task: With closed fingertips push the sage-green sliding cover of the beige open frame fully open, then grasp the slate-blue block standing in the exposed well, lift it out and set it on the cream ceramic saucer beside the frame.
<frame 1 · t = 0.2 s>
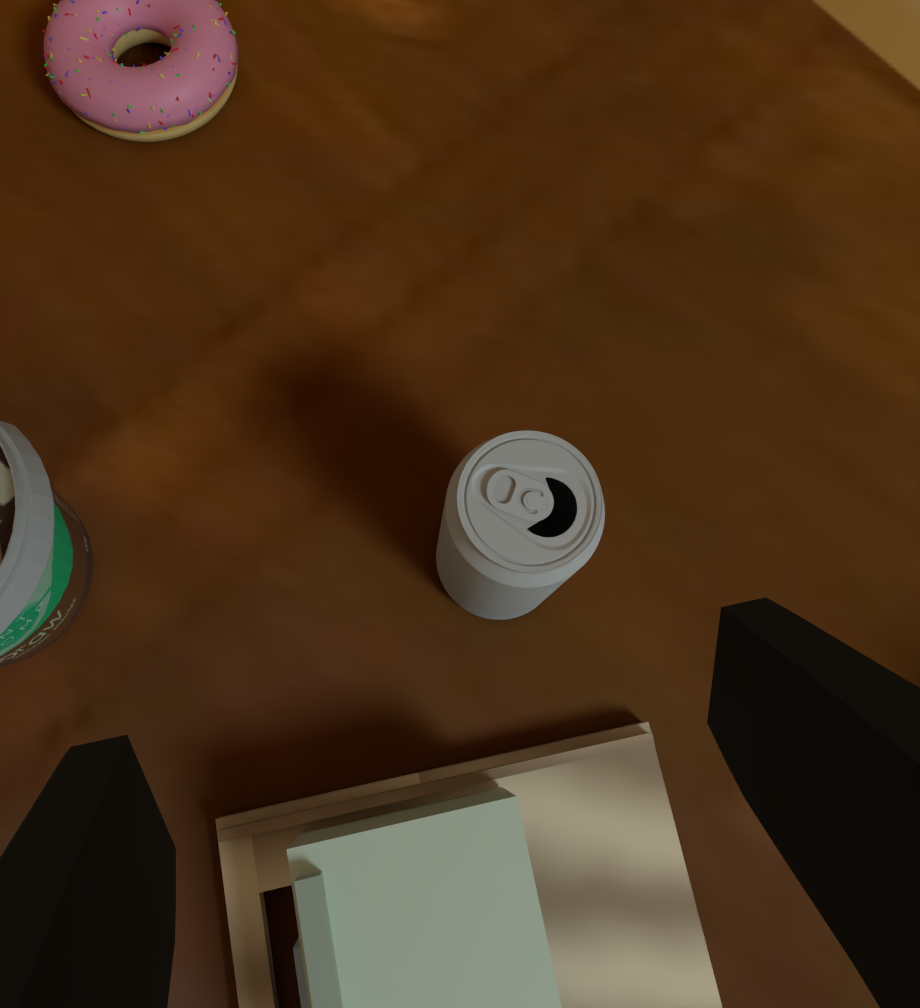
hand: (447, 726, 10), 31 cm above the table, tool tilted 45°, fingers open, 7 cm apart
beverage can: (495, 561, 42), on the table
beige open frame: (470, 933, 37), on the table
slate-blue block: (363, 960, 37), resting in beige open frame
doughnut: (154, 83, 49), on the table
food container: (38, 609, 40), on the table
sliding cover: (431, 971, 33), point 4 cm above the table, slide at 3.0 cm
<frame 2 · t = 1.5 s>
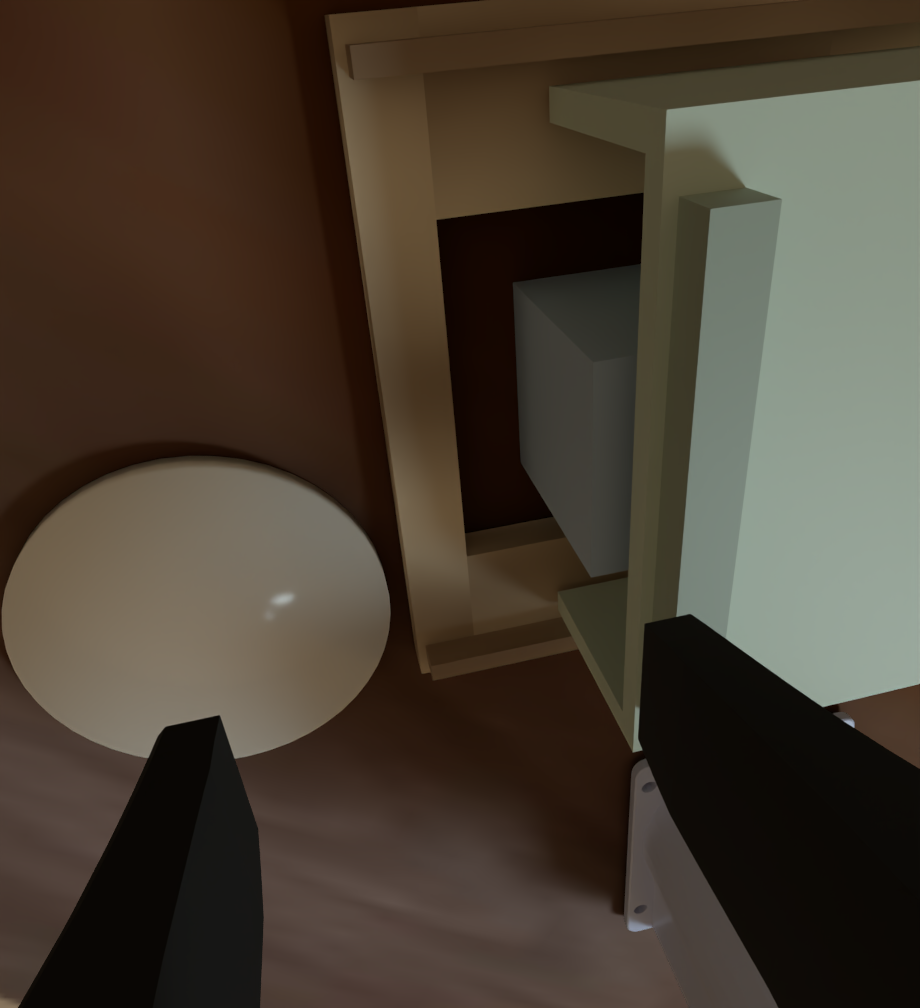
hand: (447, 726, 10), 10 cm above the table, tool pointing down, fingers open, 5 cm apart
beige open frame: (801, 332, 20), on the table
slate-blue block: (607, 362, 19), resting in beige open frame
sliding cover: (828, 413, 16), point 4 cm above the table, slide at 3.0 cm
cream saucer: (209, 615, 20), on the table
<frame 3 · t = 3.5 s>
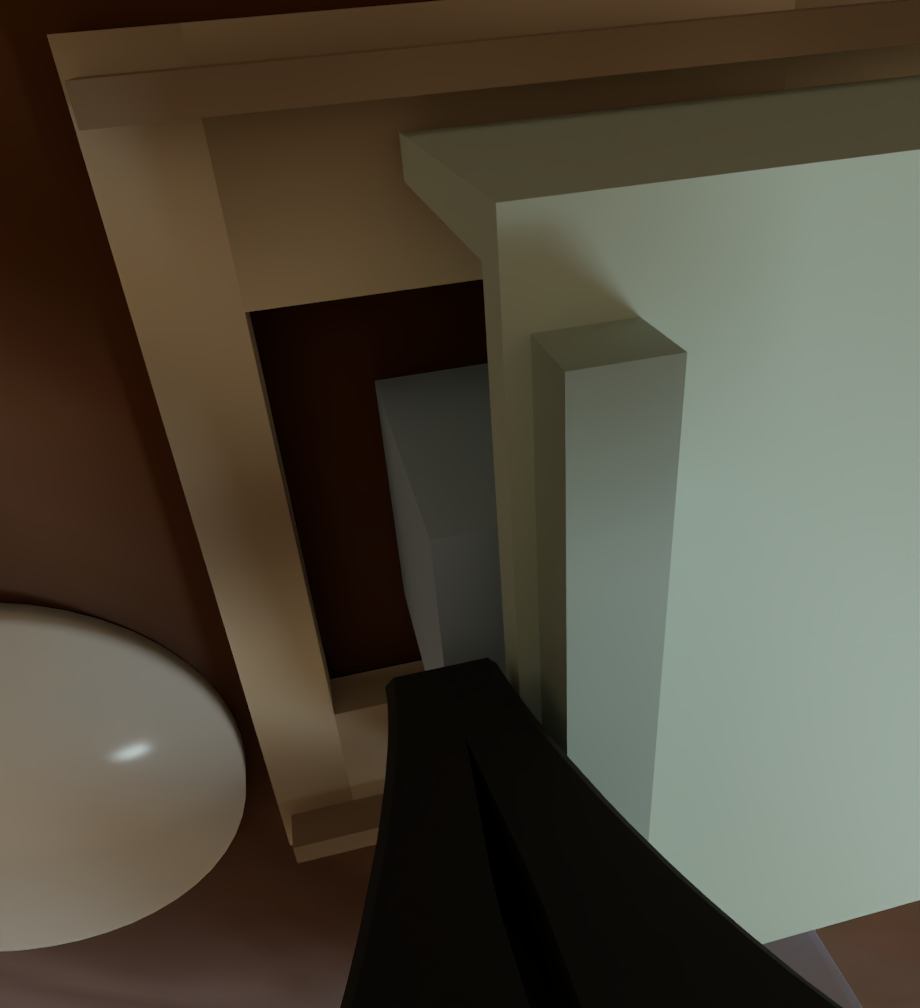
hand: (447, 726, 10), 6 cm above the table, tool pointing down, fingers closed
beige open frame: (759, 431, 16), on the table
slate-blue block: (509, 473, 15), resting in beige open frame
sliding cover: (792, 569, 12), point 4 cm above the table, slide at 3.2 cm, touching gripper
cream saucer: (11, 784, 16), on the table
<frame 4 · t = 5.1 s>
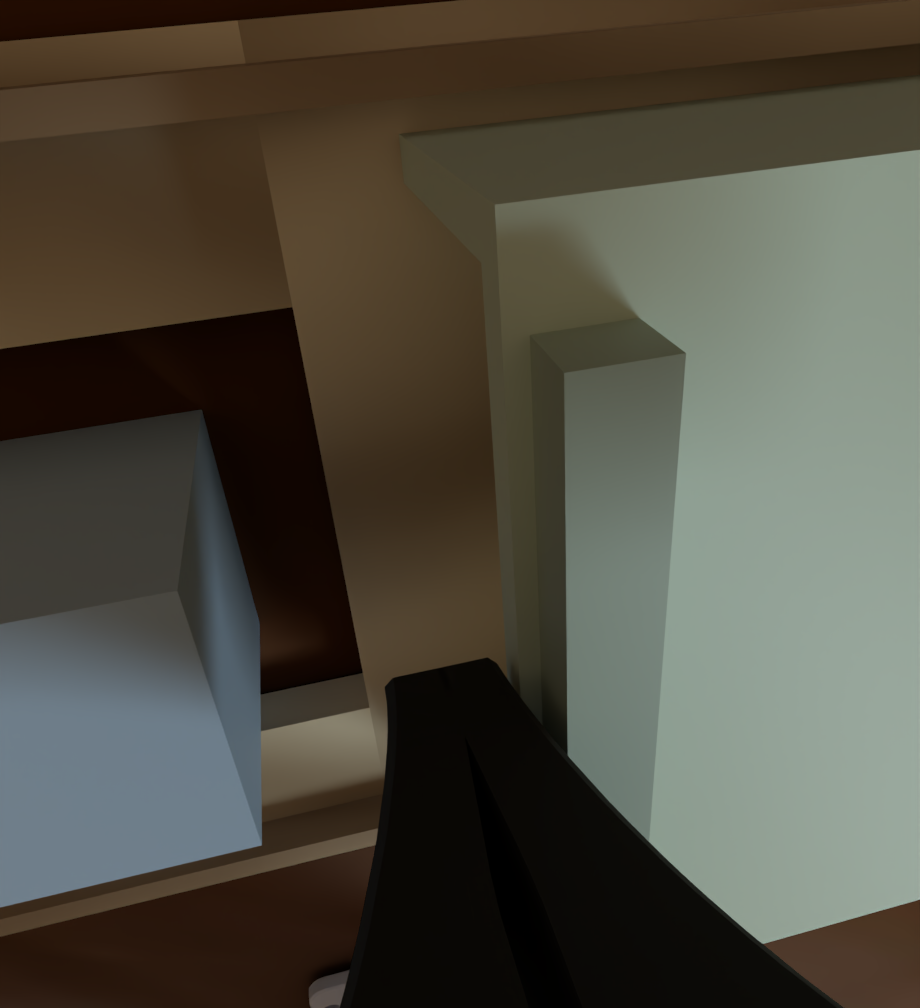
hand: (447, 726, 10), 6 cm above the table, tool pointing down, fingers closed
beige open frame: (387, 498, 14), on the table
slate-blue block: (101, 547, 14), resting in beige open frame
sliding cover: (793, 569, 12), point 4 cm above the table, slide at 10.5 cm, touching gripper
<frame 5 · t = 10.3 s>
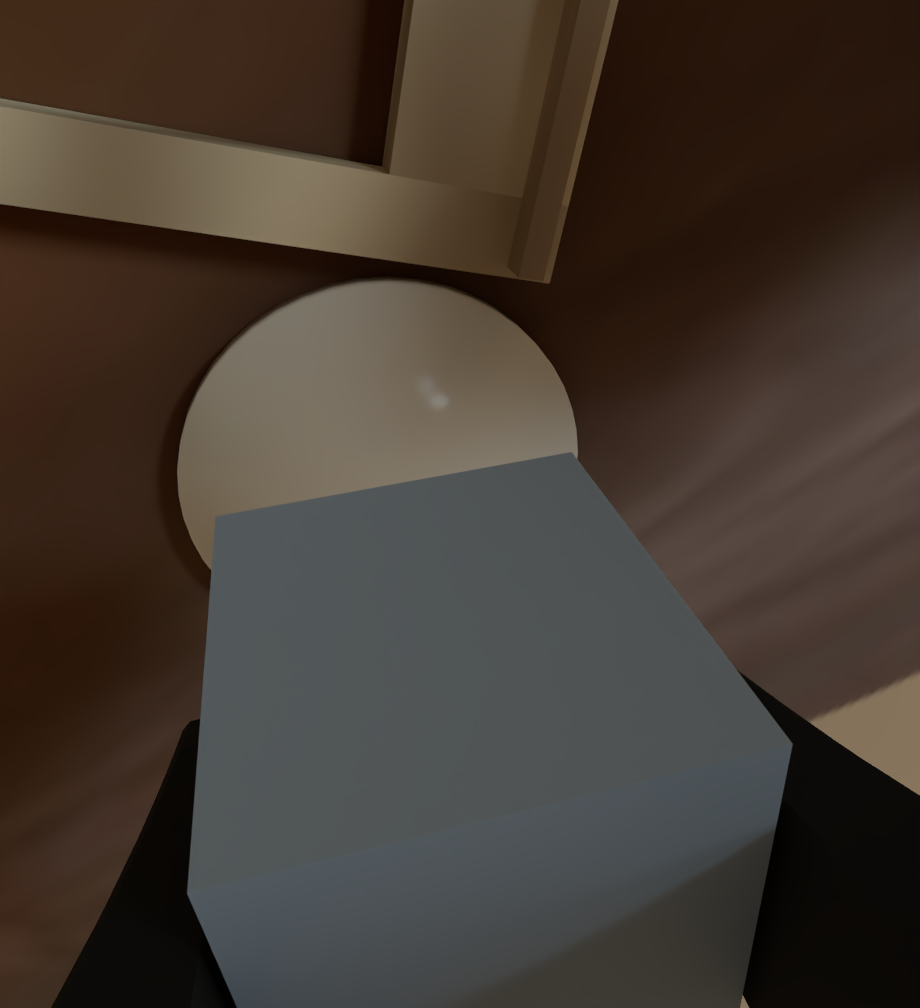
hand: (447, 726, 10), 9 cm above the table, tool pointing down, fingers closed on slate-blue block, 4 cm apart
slate-blue block: (418, 622, 11), point 8 cm above the table, touching gripper
cream saucer: (384, 471, 19), on the table
when the fingers open (4 cm above the table, at t = 12.0 s): slate-blue block drops 1 cm, resting on cream saucer.
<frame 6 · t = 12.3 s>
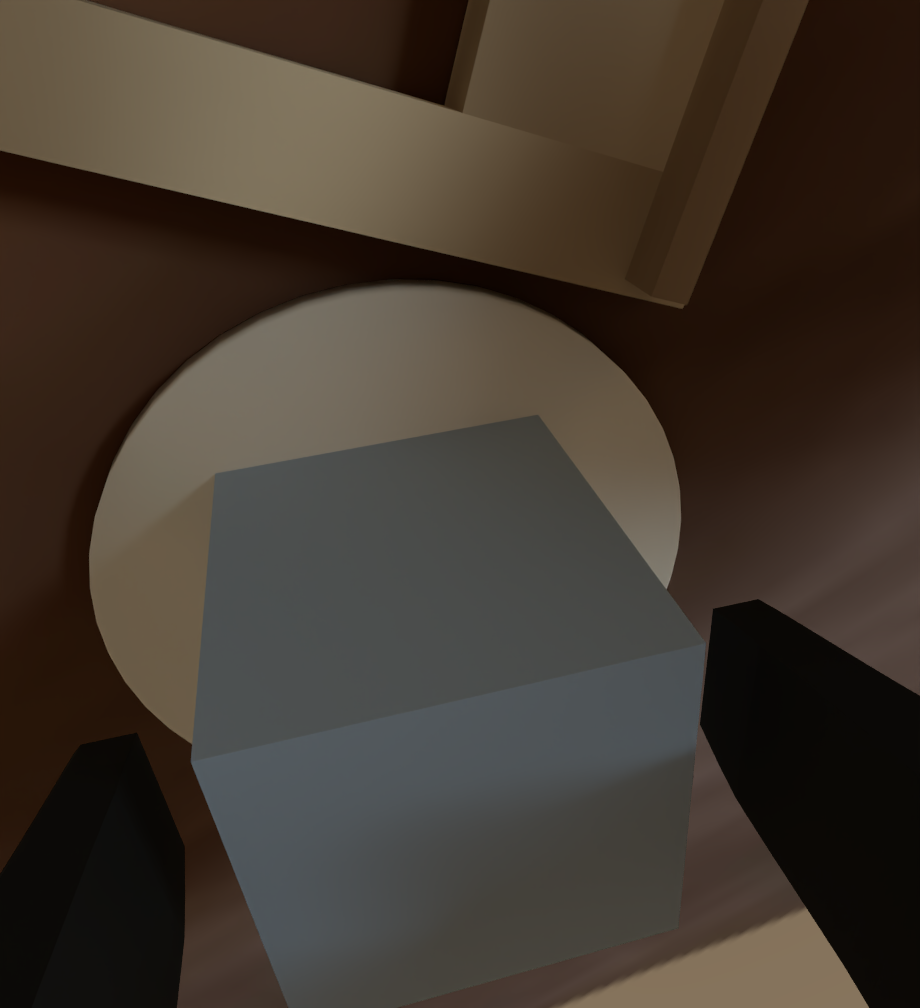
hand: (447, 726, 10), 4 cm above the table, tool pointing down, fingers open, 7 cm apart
slate-blue block: (402, 573, 12), point 1 cm above the table, touching cream saucer
cream saucer: (401, 561, 13), on the table
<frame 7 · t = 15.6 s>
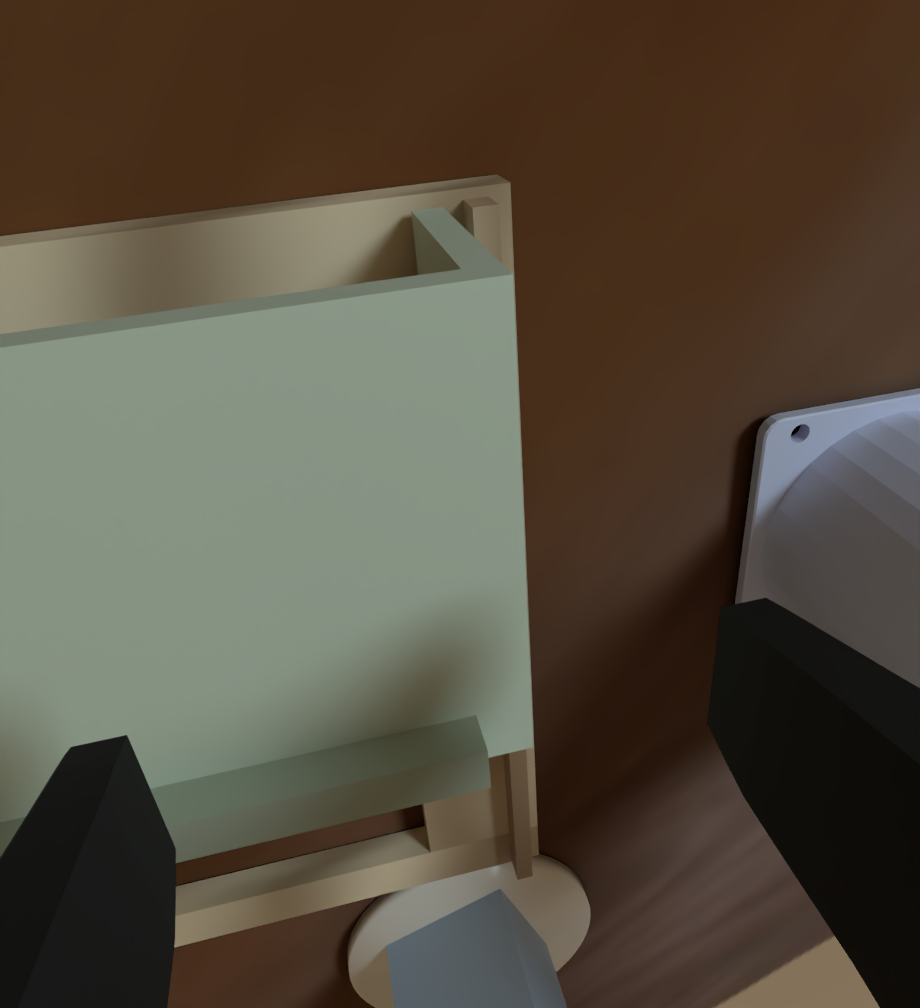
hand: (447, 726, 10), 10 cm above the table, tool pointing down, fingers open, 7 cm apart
beige open frame: (238, 641, 21), on the table
slate-blue block: (469, 944, 29), point 1 cm above the table, touching cream saucer
sliding cover: (165, 557, 14), point 4 cm above the table, slide at 10.5 cm
cream saucer: (469, 930, 30), on the table
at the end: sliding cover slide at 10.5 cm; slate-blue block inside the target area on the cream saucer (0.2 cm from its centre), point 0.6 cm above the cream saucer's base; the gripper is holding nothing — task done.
